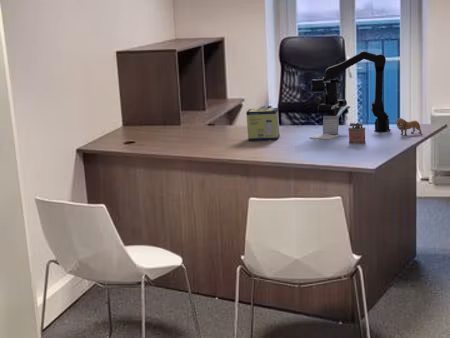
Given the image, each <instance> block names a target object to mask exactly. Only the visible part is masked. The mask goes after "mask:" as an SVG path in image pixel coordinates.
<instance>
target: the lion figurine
mask: <svg viewBox="0 0 450 338" xmlns="http://www.w3.org/2000/svg"><path fill="white" fill-rule="evenodd" d="M395 124H396V126H397V129H398V130H400V132H401V133H400V136H404V137H407V136H408V135H407V131H408V130H411V129H412V131H411V132H410V134H414V133H416V132H415V131H416V130H417V131H418V134H422V129H421V125H420V123H419V121H418V120H411V121H406V120H405V119H403V118H402V117H399V118H397V119H396V122H395Z"/></svg>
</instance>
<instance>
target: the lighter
mask: <svg viewBox="0 0 450 338" xmlns="http://www.w3.org/2000/svg"><path fill="white" fill-rule="evenodd" d="M363 125H364V124H363V123H362V122H361V123H359V122H356V123H355V122H351V123H349V127H348V129H347V130H348V144H350V145H363V144H364V145H365V144H366V143H367V142H366V127H363Z"/></svg>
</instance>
